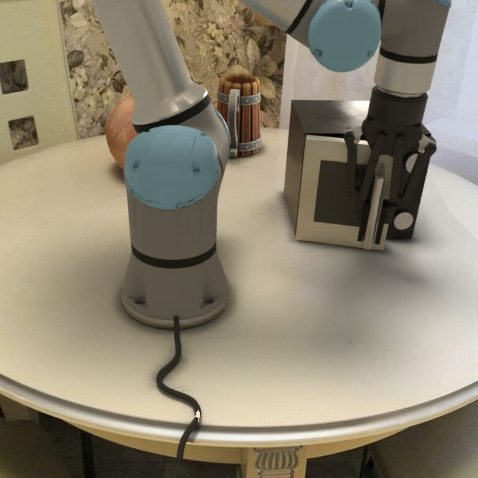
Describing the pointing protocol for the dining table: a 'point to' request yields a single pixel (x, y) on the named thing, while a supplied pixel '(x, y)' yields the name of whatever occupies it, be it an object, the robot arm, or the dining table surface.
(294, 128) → the microwave
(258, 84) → the mug
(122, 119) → the jug
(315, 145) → the microwave door
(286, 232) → the dining table surface
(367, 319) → the dining table surface
